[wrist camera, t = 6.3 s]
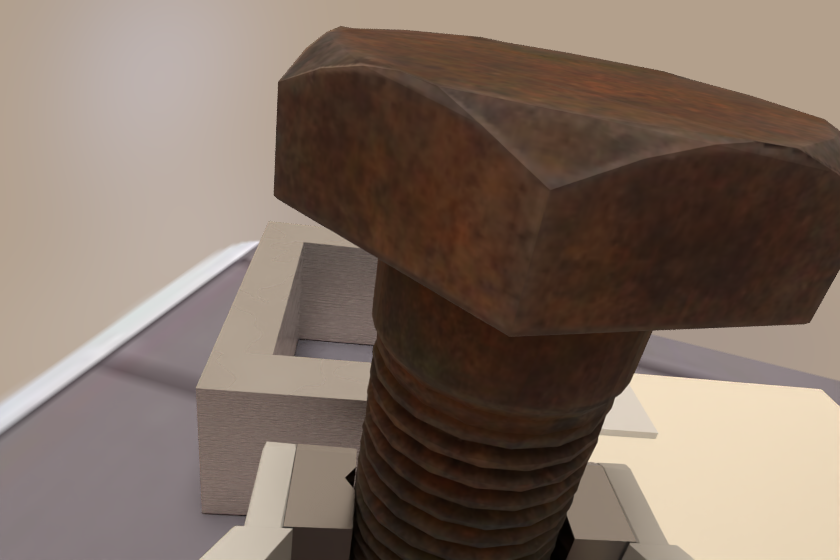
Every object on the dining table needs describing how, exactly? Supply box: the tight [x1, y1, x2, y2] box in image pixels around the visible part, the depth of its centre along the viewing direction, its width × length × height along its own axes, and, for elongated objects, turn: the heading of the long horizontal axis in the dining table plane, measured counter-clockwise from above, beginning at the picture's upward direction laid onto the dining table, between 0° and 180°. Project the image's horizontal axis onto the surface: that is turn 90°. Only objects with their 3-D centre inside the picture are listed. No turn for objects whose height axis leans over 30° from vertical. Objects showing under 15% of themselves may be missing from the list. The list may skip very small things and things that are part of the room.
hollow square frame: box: [196, 221, 378, 515], centre depth 22 cm, size 12×12×5 cm
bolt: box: [274, 26, 840, 560], centre depth 9 cm, size 6×5×15 cm
